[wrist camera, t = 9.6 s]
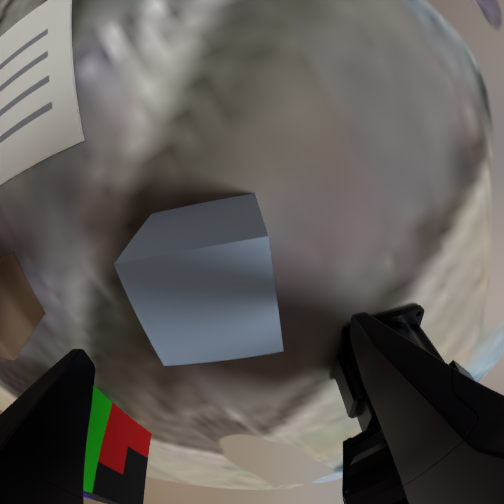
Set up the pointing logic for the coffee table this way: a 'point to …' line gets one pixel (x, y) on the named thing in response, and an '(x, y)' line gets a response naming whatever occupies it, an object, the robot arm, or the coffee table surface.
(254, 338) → the blue cube
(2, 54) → the letter
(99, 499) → the puzzle toy
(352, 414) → the robot arm
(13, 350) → the walnut block
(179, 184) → the coffee table surface
